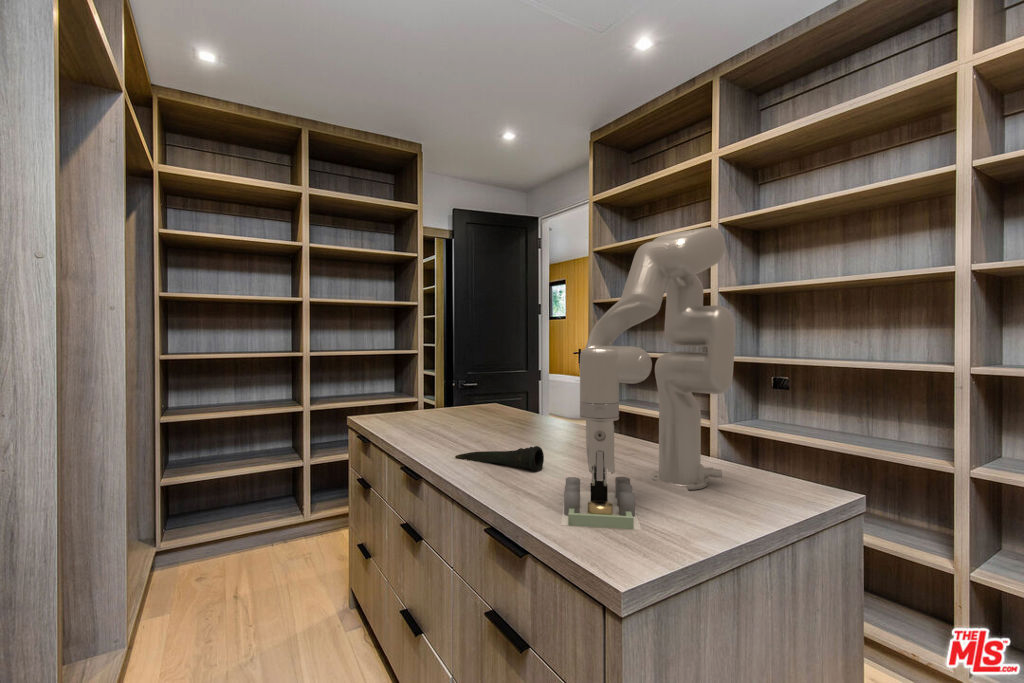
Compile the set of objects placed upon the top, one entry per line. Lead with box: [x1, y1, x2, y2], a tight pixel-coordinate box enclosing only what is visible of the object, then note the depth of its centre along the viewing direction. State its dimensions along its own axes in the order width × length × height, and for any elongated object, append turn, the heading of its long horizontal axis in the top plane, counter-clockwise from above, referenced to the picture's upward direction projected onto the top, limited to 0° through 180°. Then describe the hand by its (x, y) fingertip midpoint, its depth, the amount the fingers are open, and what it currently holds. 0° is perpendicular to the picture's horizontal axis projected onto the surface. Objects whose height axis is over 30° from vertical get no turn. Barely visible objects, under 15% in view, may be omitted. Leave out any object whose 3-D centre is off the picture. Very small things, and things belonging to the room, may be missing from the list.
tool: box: [454, 445, 545, 473], centre depth 134 cm, size 28×6×7 cm, turn 54°
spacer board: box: [560, 476, 642, 531], centre depth 95 cm, size 14×20×5 cm
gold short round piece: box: [588, 500, 613, 515], centre depth 89 cm, size 5×5×3 cm
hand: (598, 504), depth 93 cm, fingers closed
